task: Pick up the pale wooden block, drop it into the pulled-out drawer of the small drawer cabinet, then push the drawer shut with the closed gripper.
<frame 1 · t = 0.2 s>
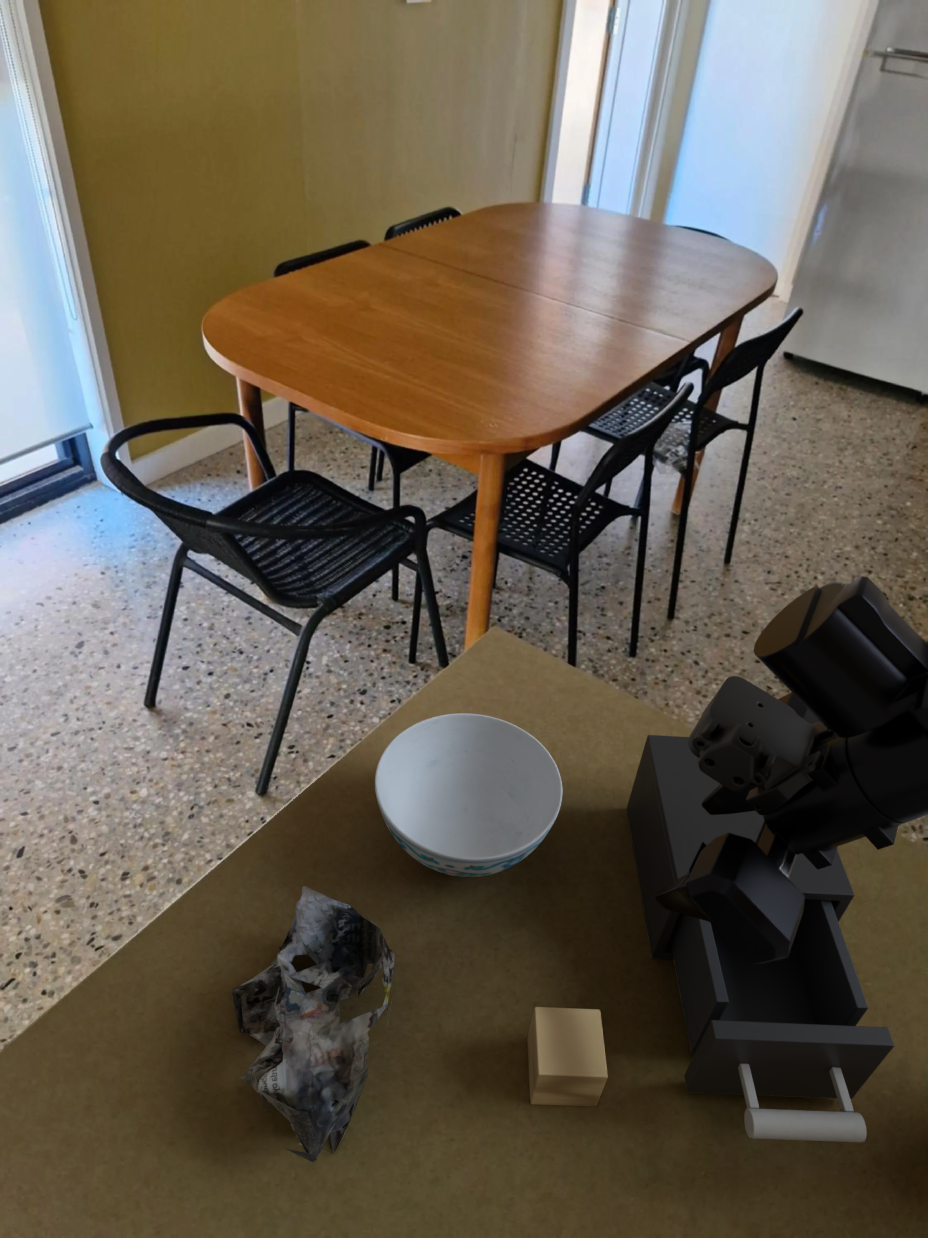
hand: (684, 852, 60), 13 cm above the counter, tool tilted 30°, fingers open, 9 cm apart
pulled-out drawer: (768, 1002, 61), point 5 cm above the counter, slide at 9.0 cm
chinaware: (462, 841, 76), on the counter
drawer cabinet: (712, 881, 74), on the counter
block: (561, 1071, 61), on the counter
foil: (318, 1034, 62), on the counter
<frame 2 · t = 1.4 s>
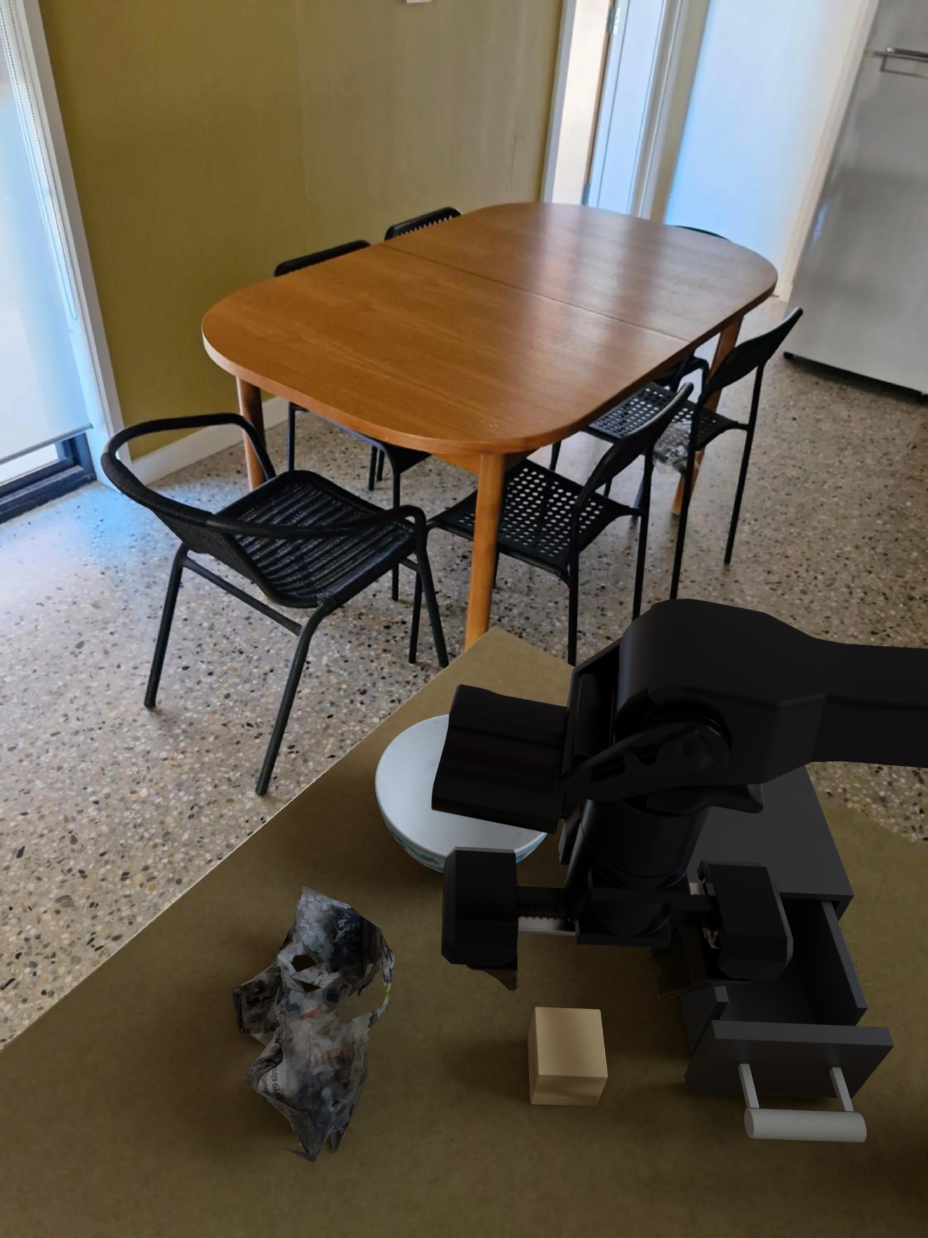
hand: (586, 987, 54), 11 cm above the counter, tool pointing down, fingers open, 9 cm apart
nothing on the counter moved.
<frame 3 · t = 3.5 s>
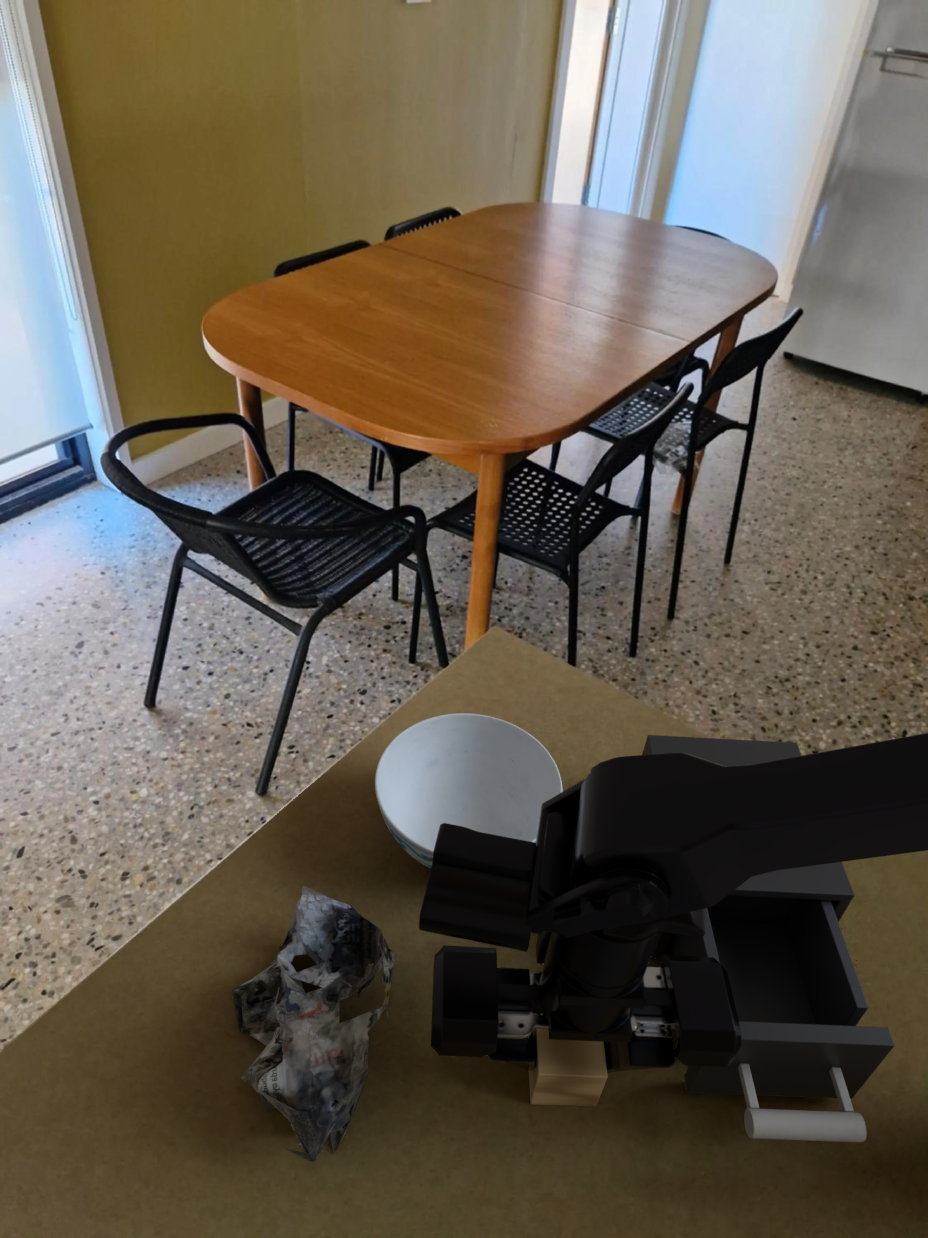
hand: (563, 1064, 61), 1 cm above the counter, tool pointing down, fingers closed on block, 4 cm apart
block: (560, 1071, 61), on the counter, touching gripper
everything else where it was.
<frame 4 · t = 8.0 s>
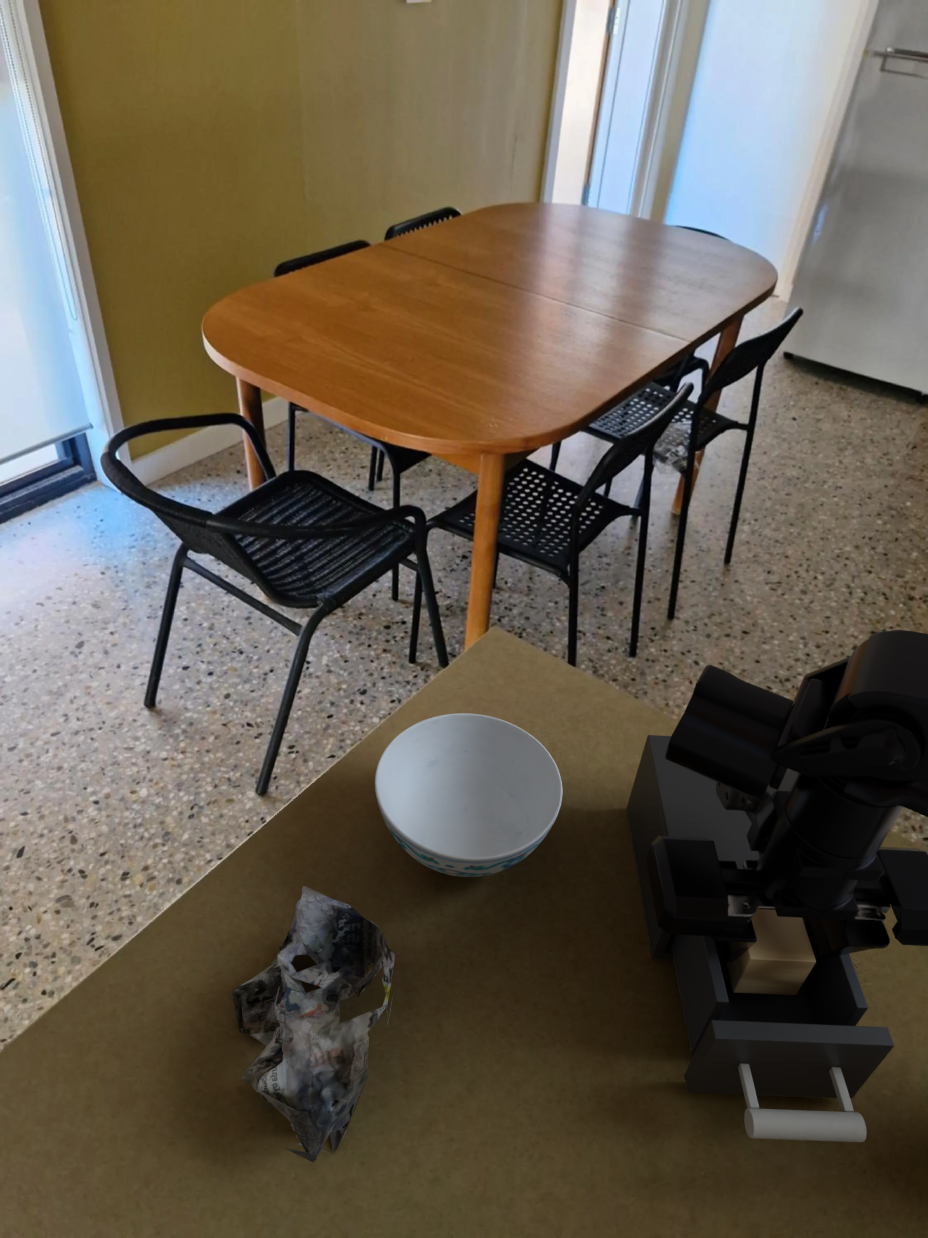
hand: (760, 957, 63), 6 cm above the counter, tool pointing down, fingers closed on block, 4 cm apart
block: (756, 964, 64), point 5 cm above the counter, touching gripper
everything else where it was.
when the fingers open (9 cm above the counter, at t = 22.3 s): block drops 6 cm, resting on pulled-out drawer.
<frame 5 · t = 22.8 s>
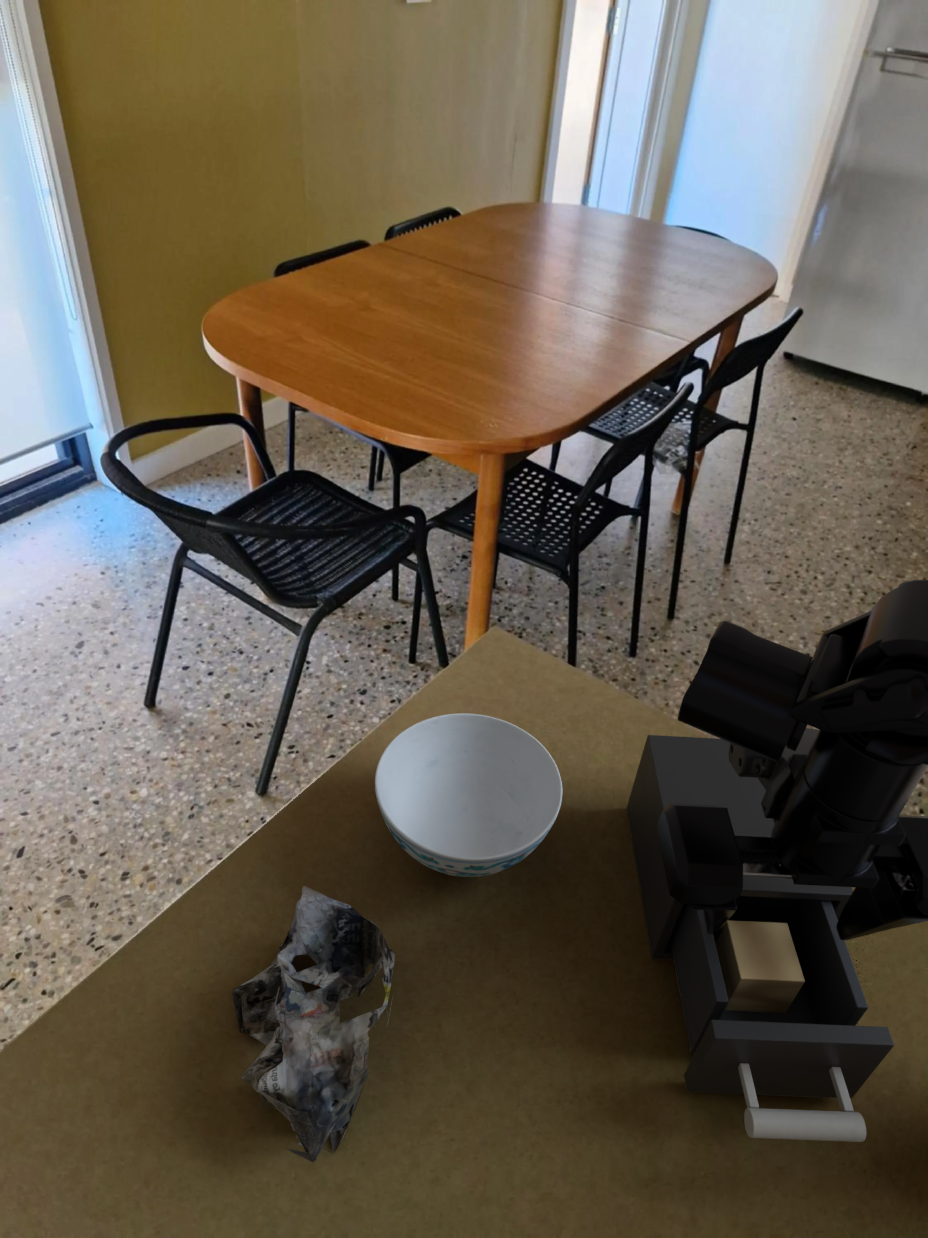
hand: (774, 931, 61), 9 cm above the counter, tool pointing down, fingers open, 9 cm apart
pulled-out drawer: (768, 1001, 61), point 5 cm above the counter, slide at 9.0 cm, touching block
block: (747, 982, 65), point 2 cm above the counter, touching pulled-out drawer
everything else where it was.
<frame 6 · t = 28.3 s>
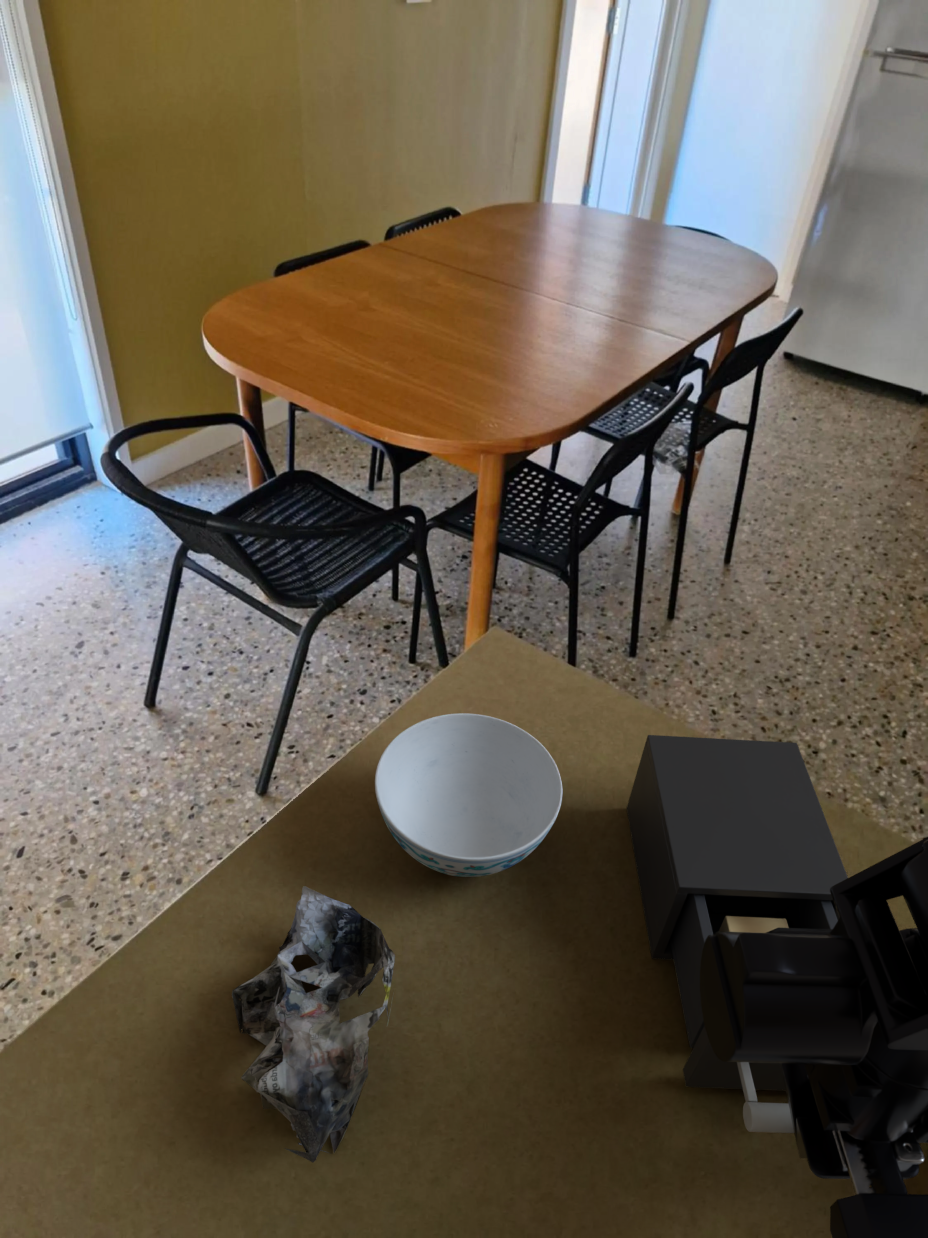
hand: (806, 1152, 54), 5 cm above the counter, tool pointing down, fingers closed
pulled-out drawer: (767, 997, 62), point 5 cm above the counter, slide at 8.6 cm, touching block, gripper
everything else where it was.
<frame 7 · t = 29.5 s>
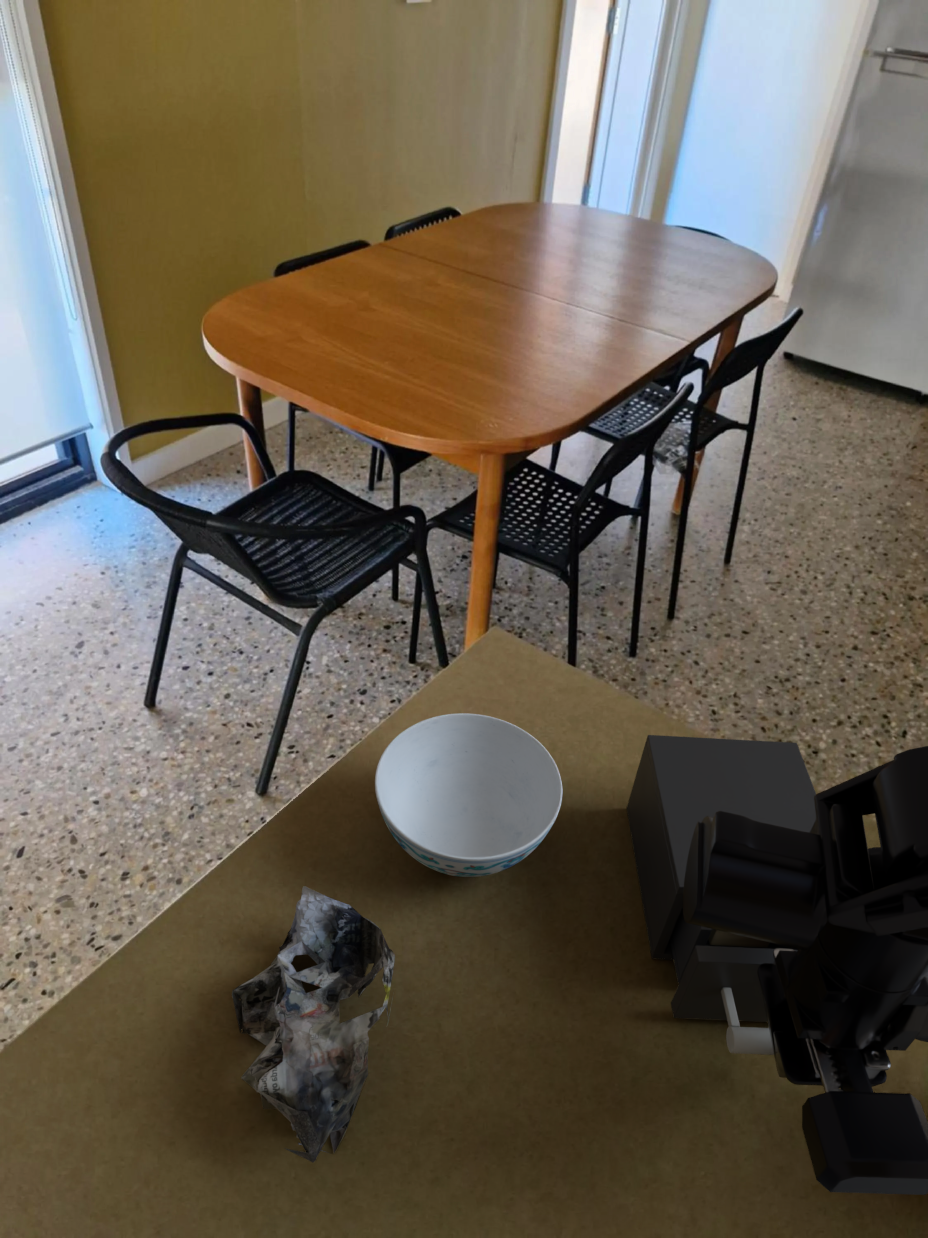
hand: (785, 1072, 58), 5 cm above the counter, tool pointing down, fingers closed
pulled-out drawer: (750, 934, 65), point 5 cm above the counter, slide at 3.9 cm, touching block, gripper
block: (731, 920, 69), point 2 cm above the counter, touching pulled-out drawer
everything else where it was.
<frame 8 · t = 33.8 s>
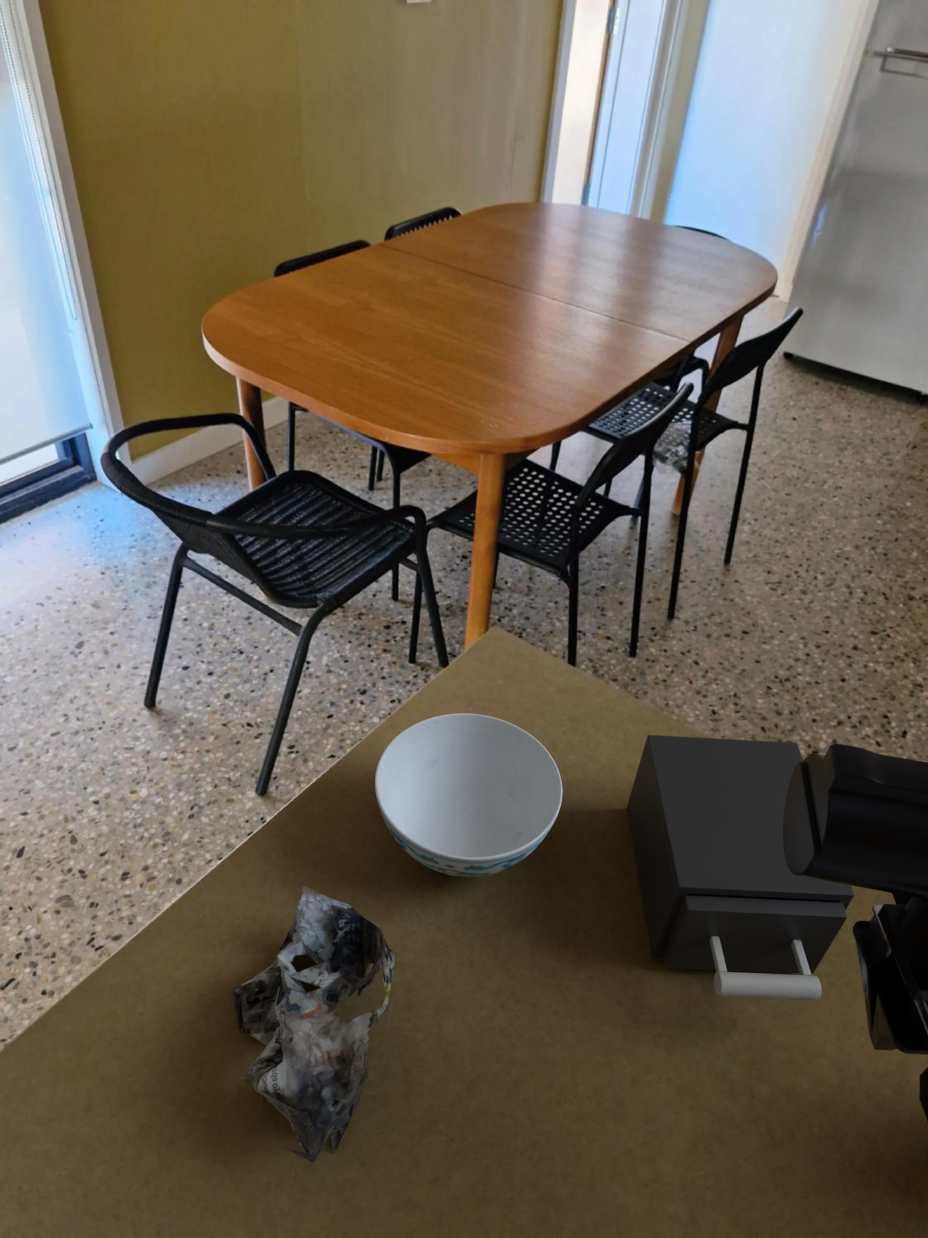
hand: (880, 1044, 52), 12 cm above the counter, tool pointing down, fingers closed
pulled-out drawer: (738, 888, 68), point 5 cm above the counter, slide at 0.0 cm, touching block
block: (721, 877, 72), point 2 cm above the counter, touching pulled-out drawer
everything else where it was.
at the end: block inside the target area in the drawer cabinet (1.0 cm from its centre), point 2.0 cm above the drawer cabinet's base; pulled-out drawer slide at 0.0 cm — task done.
